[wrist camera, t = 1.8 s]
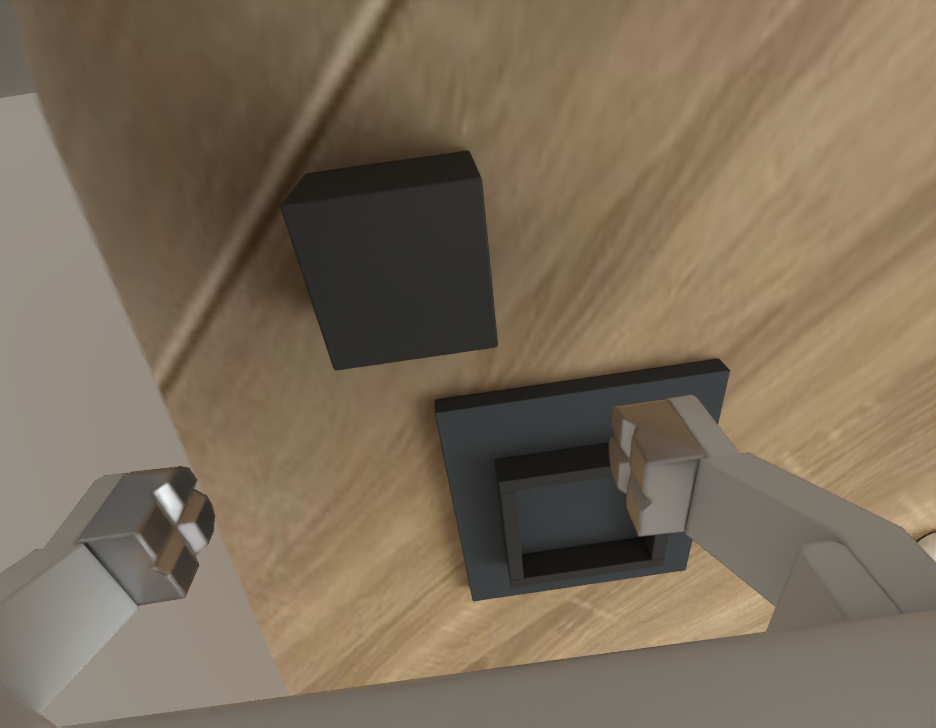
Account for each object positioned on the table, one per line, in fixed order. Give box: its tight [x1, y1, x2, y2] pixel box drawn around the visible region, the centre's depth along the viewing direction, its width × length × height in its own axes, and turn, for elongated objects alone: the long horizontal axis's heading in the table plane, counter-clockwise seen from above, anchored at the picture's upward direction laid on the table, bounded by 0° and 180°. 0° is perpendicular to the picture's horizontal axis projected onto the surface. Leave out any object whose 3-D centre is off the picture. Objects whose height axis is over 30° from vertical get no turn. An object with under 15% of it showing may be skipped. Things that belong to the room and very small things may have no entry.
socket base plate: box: [435, 359, 730, 601], centre depth 27 cm, size 14×16×3 cm
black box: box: [281, 151, 498, 370], centre depth 18 cm, size 6×6×4 cm
